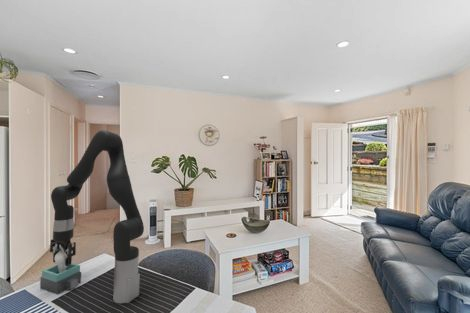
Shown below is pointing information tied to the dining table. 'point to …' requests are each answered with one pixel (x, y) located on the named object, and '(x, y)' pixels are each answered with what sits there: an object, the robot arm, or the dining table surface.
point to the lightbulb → (60, 261)
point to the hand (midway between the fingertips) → (62, 263)
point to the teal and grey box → (60, 278)
